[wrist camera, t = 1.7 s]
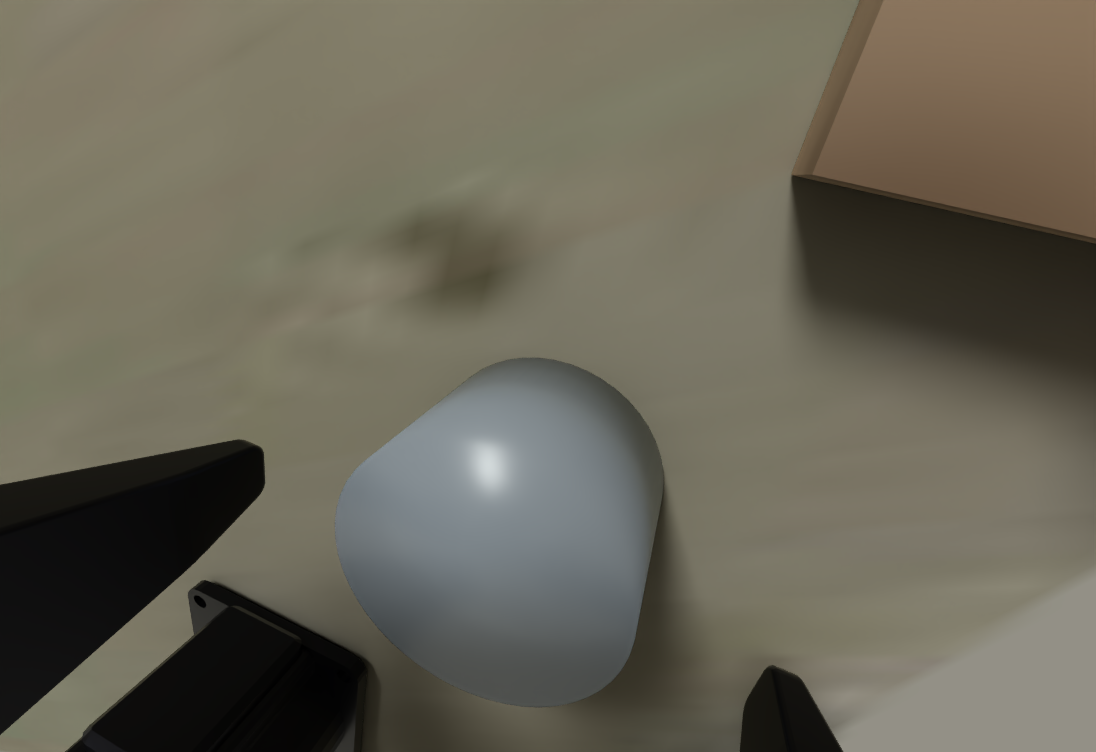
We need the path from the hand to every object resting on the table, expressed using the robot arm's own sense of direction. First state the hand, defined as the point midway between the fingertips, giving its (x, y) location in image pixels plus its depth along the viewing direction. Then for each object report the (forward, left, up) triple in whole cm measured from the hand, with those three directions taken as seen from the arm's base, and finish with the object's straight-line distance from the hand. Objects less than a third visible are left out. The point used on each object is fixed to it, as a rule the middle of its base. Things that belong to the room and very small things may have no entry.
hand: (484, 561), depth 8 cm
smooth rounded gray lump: (0, 0, -3) cm, 3 cm away
